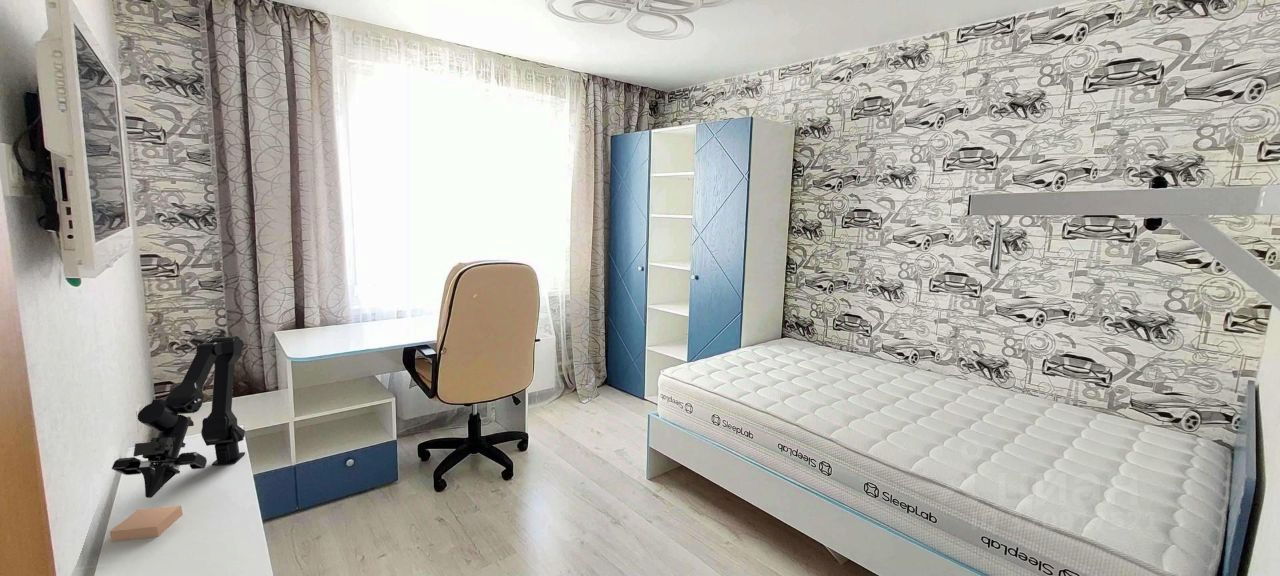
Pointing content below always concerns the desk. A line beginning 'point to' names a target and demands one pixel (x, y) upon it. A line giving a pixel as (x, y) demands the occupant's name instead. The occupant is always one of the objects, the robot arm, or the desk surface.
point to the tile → (146, 523)
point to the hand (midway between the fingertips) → (148, 497)
